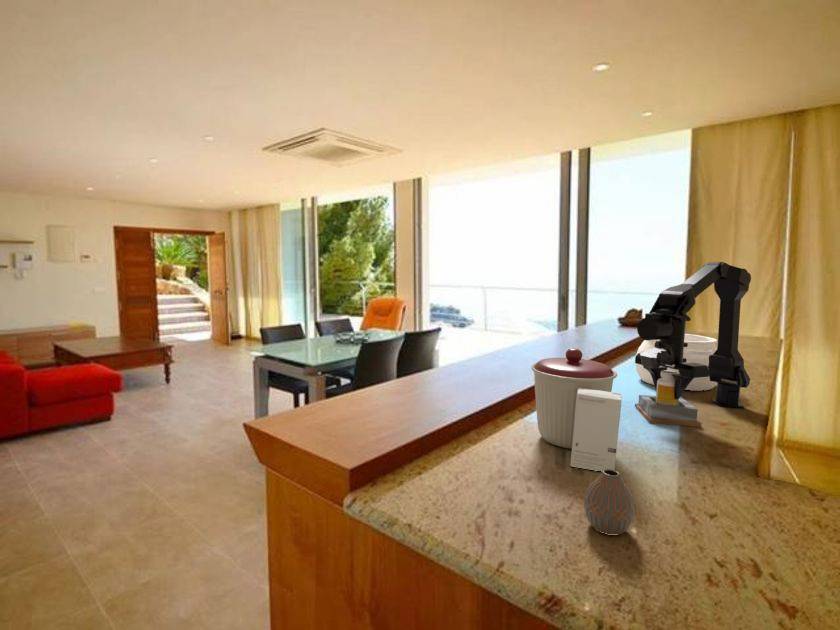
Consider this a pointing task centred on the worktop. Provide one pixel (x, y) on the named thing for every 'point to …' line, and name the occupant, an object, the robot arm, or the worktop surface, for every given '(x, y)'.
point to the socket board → (667, 412)
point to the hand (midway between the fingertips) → (667, 396)
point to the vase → (609, 503)
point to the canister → (565, 392)
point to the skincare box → (595, 429)
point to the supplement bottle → (666, 389)
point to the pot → (693, 353)
